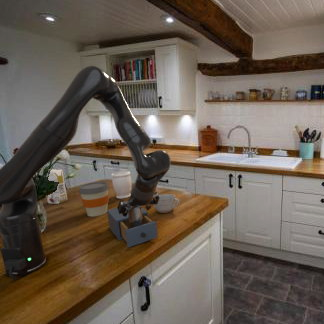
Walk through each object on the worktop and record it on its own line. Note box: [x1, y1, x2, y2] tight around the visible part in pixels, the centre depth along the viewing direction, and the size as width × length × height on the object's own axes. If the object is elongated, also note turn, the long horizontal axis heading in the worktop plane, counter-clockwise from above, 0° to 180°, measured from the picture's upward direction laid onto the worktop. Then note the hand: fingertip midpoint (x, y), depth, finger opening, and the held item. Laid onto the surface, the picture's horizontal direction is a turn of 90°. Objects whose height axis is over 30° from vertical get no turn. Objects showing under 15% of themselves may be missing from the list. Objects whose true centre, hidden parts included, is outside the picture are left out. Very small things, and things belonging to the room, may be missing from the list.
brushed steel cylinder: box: [127, 206, 143, 228], centre depth 100 cm, size 5×5×12 cm
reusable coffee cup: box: [78, 181, 110, 218], centre depth 126 cm, size 13×13×15 cm
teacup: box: [153, 193, 180, 214], centre depth 128 cm, size 14×11×8 cm
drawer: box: [119, 215, 159, 248], centre depth 101 cm, size 15×11×7 cm
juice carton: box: [46, 168, 68, 205], centre depth 142 cm, size 8×9×19 cm
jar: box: [111, 170, 133, 200], centre depth 151 cm, size 11×10×15 cm
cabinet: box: [107, 207, 150, 241], centre depth 109 cm, size 15×13×9 cm
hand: (136, 211), depth 98 cm, fingers open, 8 cm apart
